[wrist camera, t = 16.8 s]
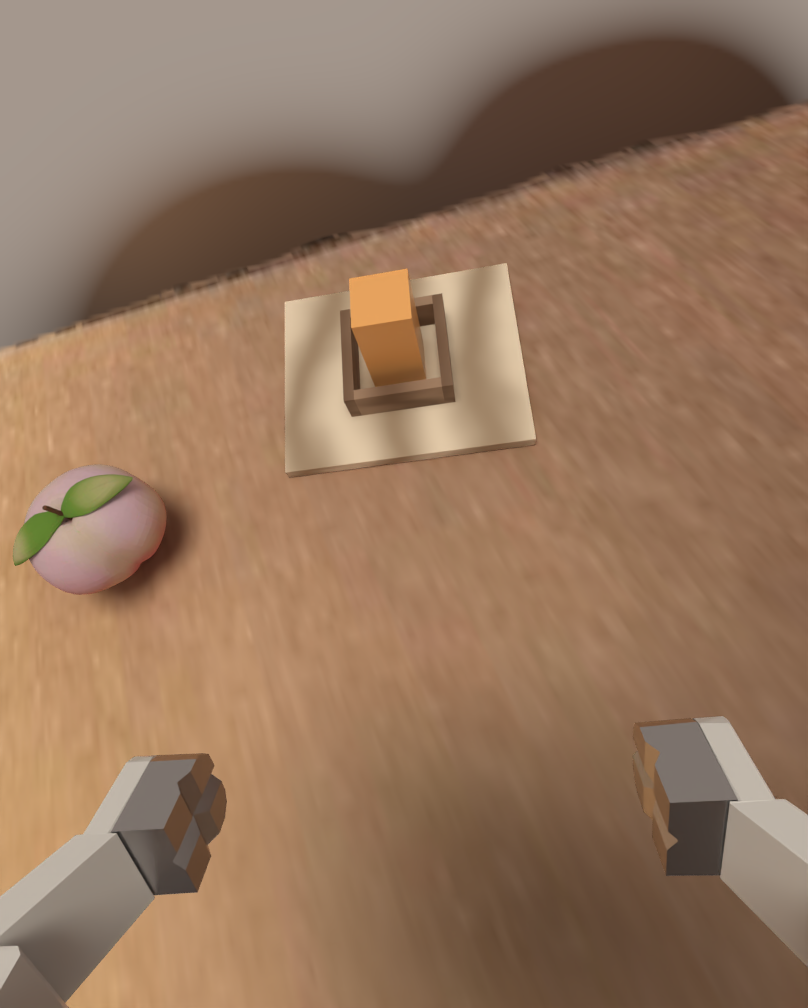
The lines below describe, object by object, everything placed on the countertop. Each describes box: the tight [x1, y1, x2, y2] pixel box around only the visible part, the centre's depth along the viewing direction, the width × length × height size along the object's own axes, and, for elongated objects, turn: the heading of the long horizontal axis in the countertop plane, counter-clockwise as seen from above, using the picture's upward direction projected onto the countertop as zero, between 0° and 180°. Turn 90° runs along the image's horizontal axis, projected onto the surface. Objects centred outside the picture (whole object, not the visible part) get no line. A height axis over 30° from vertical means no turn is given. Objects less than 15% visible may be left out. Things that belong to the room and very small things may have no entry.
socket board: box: [285, 263, 536, 477], centre depth 44 cm, size 19×16×4 cm
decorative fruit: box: [13, 465, 167, 595], centre depth 40 cm, size 9×8×10 cm
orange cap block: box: [349, 269, 427, 387], centre depth 41 cm, size 4×4×8 cm
